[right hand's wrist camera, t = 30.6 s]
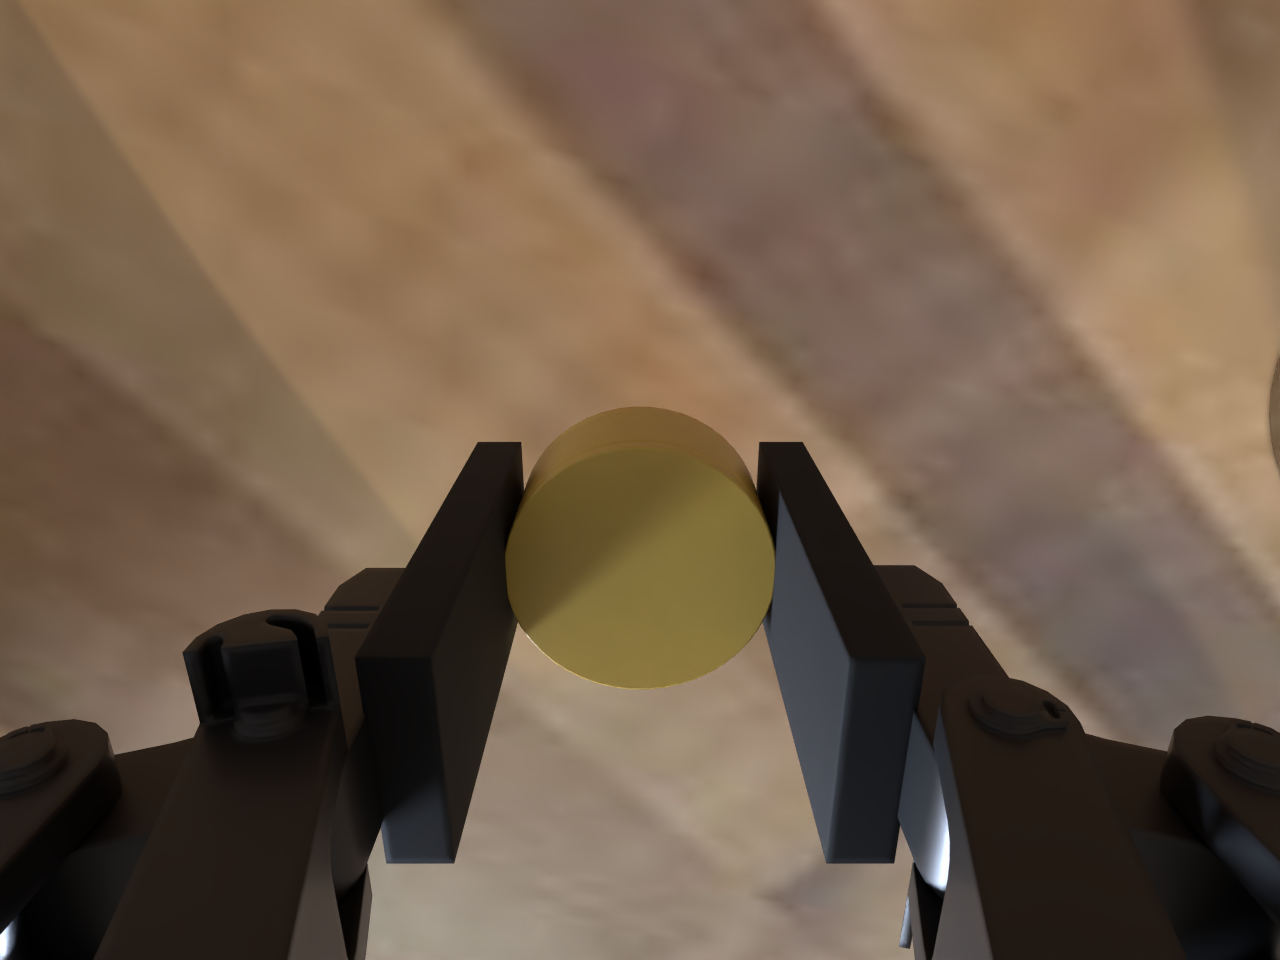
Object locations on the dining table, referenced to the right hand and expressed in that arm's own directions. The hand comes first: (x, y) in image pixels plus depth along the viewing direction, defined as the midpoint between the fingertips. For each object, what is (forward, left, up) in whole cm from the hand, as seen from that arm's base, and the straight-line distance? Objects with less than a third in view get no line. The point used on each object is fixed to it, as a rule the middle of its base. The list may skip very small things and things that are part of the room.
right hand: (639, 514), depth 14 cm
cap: (0, 0, +2) cm, 2 cm away
